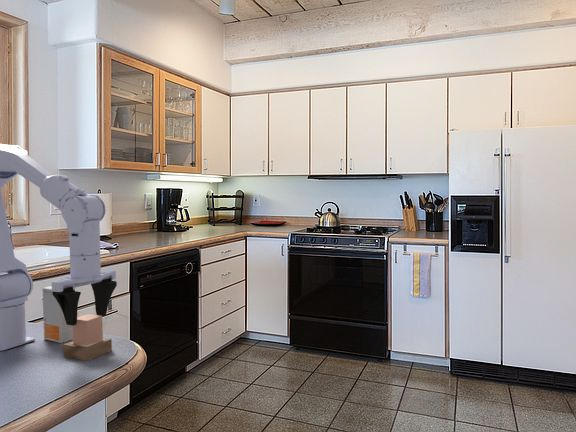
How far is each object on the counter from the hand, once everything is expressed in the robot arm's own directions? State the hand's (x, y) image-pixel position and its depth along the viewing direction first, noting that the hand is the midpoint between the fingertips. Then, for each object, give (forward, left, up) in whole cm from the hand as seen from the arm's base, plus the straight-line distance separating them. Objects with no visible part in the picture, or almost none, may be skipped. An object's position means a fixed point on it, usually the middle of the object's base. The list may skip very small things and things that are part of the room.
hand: (86, 319), depth 95 cm
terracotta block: (0, 0, -5) cm, 5 cm away
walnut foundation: (0, 0, -7) cm, 7 cm away
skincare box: (-13, +5, -7) cm, 16 cm away
